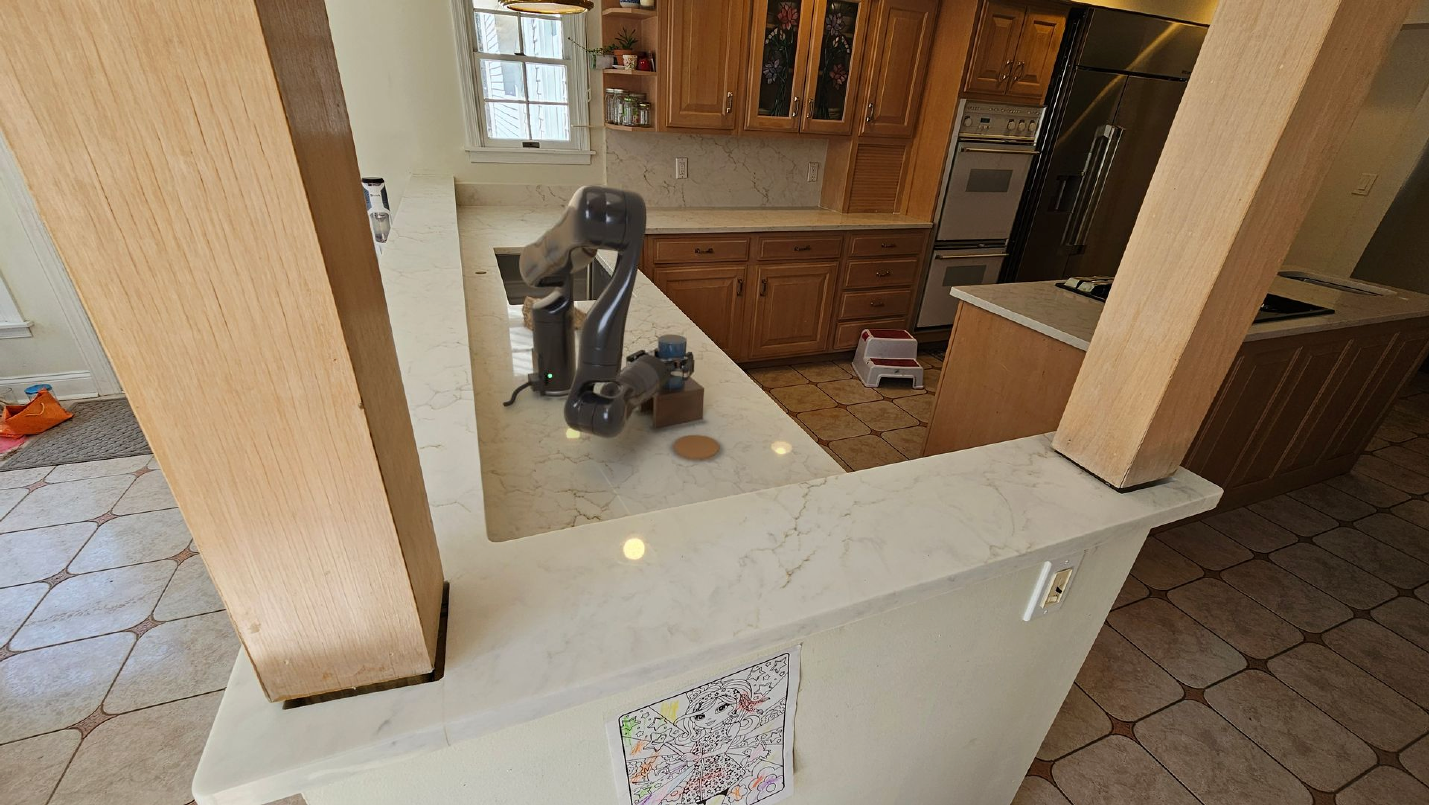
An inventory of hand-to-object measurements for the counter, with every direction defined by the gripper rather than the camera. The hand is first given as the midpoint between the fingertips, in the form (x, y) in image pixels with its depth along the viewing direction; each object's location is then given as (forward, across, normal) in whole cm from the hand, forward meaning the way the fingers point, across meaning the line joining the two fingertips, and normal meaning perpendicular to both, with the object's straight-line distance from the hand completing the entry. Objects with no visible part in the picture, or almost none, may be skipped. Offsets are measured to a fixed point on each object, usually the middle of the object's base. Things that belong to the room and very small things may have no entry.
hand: (676, 353), depth 130 cm
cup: (-2, 0, +6) cm, 6 cm away
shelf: (-2, 0, +14) cm, 14 cm away
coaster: (-13, -11, +14) cm, 22 cm away
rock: (+33, +52, +14) cm, 64 cm away
